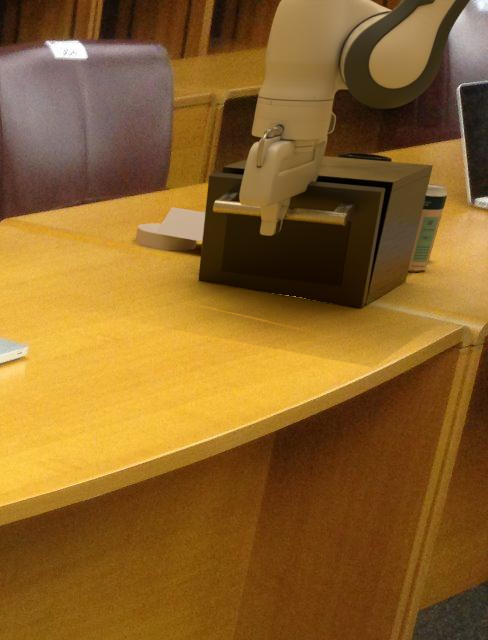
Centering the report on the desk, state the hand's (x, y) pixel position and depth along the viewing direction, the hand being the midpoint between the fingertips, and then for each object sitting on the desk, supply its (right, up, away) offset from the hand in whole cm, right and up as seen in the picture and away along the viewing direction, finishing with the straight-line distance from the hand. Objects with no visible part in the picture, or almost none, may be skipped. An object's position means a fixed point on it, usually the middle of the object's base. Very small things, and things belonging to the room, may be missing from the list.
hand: (269, 233), depth 199 cm
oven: (+13, -1, +19) cm, 23 cm away
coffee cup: (+27, +7, +37) cm, 46 cm away
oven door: (+5, -6, +10) cm, 13 cm away
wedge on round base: (+2, +8, +38) cm, 39 cm away
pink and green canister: (+32, +2, +27) cm, 42 cm away
